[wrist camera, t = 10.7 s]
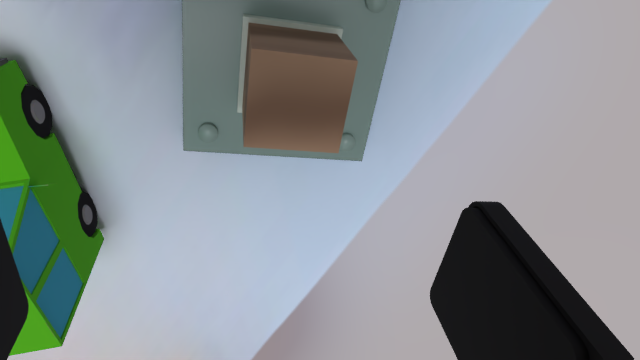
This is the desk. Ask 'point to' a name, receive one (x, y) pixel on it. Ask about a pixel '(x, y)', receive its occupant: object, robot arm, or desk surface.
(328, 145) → the walnut cube
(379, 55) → the baseplate
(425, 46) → the desk surface
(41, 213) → the toy car
